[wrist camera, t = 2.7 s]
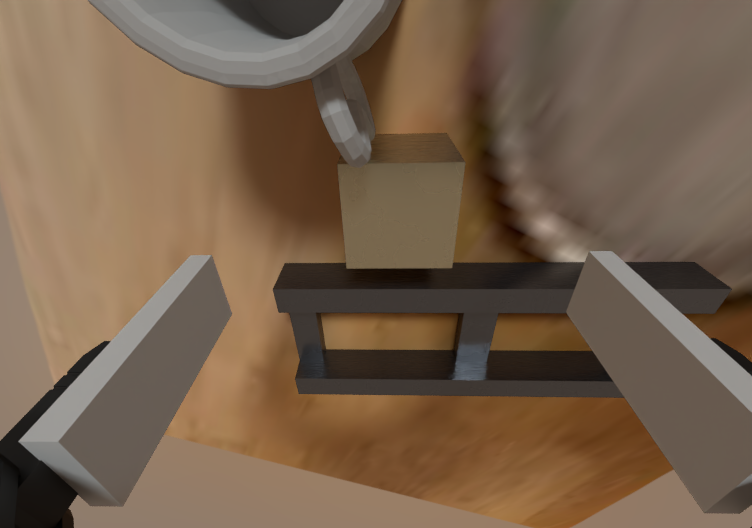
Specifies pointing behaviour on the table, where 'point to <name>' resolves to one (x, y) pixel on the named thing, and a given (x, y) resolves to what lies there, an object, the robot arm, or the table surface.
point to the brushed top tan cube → (402, 202)
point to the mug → (268, 49)
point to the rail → (461, 326)
